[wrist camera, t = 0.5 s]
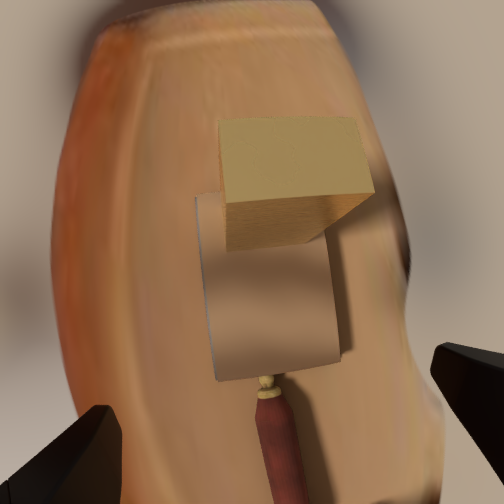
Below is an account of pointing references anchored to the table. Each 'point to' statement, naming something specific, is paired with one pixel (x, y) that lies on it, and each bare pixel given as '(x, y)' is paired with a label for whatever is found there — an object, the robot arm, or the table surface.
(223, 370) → the tan flat block
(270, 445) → the gavel
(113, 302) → the table surface
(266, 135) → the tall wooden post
